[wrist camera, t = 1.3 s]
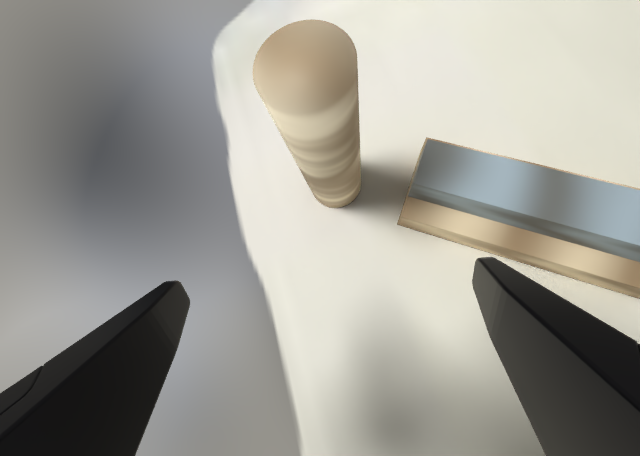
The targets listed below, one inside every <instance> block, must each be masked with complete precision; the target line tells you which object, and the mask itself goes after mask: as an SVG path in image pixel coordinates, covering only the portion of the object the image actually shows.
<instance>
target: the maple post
mask: <svg viewBox="0 0 640 456" xmlns="http://www.w3.org/2000/svg"><path fill="white" fill-rule="evenodd" d="M253 80H254V85H255V87H256V89H257V91H258V93H259V95H260V97H261V99H262V101H263V103H264V104H265V106H266V108H267V110H268V112H269V114H270V115H271V117H272V119H273V121H274V123H275V125H276V126H277V128H278V130H279V132H280V134H281V136H282V138H283V139H284V141H285V143H286V145H287V147H288V149H289V150H290V152H291V154H292V156H293V158H294V160H295V161H296V163H297V165H298V167H299V169H300V171H301V173H302V174H303V176H304V178H305V180H306V182H307V184H308V185H309V187H310V189H311V191H312V193H313V195H314V196H315V198H316V199H317V200H318V201H319V202H320V203H321V204H323V205H325V206H327V207H331V208H339V207H343V206H346V205H348V204H350V203H351V202H352V201H353V200H354V199H355V198H356V197H357V196H358V194H359V192H360V188H361V164H360V132H359V101H358V69H357V53H356V49H355V46H354V43H353V42H352V40H351V38H350V37H349V36H348V34H347V33H346V32H345V31H343V30H342V29H341V28H339V27H338V26H336V25H334V24H332V23H329V22H326V21H321V20H303V21H298V22H294V23H291V24H288V25H286V26H284V27H282V28H280V29H279V30H277V31H276V32H274V33H273V34H272V35H271V36H270V37H269V38H268V39H267V40H266V41H265V42H264V43H263V44H262V46H261V47H260V49H259V51H258V53H257V55H256V57H255V60H254V65H253Z"/></svg>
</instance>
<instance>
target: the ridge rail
mask: <svg viewBox="0 0 640 456" xmlns="http://www.w3.org/2000/svg"><path fill="white" fill-rule="evenodd" d="M397 225H401V226H404V227H407V228H410V229H414V230H417V231H420V232H424V233H427V234H430V235H433V236H437V237H440V238H443V239H446V240H450V241H453V242H456V243H460V244H463V245H466V246H469V247H473V248H476V249H479V250H482V251H486V252H489V253H492V254H495V255H499V256H502V257H505V258H509V259H512V260H515V261H518V262H522V263H525V264H528V265H531V266H535V267H538V268H541V269H544V270H548V271H551V272H554V273H558V274H561V275H564V276H567V277H571V278H574V279H577V280H580V281H584V282H587V283H590V284H593V285H597V286H600V287H603V288H607V289H610V290H613V291H616V292H620V293H623V294H626V295H629V296H633V297H636V298H639V299H640V189H638V188H634V187H630V186H626V185H622V184H618V183H613V182H609V181H605V180H601V179H597V178H593V177H589V176H584V175H580V174H576V173H572V172H568V171H564V170H559V169H555V168H551V167H547V166H543V165H539V164H535V163H530V162H526V161H522V160H518V159H514V158H510V157H506V156H501V155H497V154H493V153H489V152H485V151H481V150H476V149H472V148H468V147H464V146H460V145H456V144H452V143H447V142H443V141H439V140H435V139H431V138H427V137H426V140H425V142H424V145H423V147H422V149H421V152H420V155H419V158H418V161H417V164H416V167H415V170H414V173H413V176H412V180H411V183H410V186H409V189H408V192H407V195H406V198H405V201H404V205H403V208H402V211H401V214H400V217H399V220H398V223H397Z"/></svg>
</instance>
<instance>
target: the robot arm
mask: <svg viewBox="0 0 640 456" xmlns="http://www.w3.org/2000/svg"><path fill="white" fill-rule="evenodd" d="M472 284H473V289H474V292H475V295H476V298H477V300H478V303H479V306H480V309H481V312H482V315H483V318H484V321H485V324H486V327H487V330H488V333H489V335H490V338H491V340H492V342H493V345H494V347H495V349H496V351H497V353H498V355H499V357H500V360H501V362H502V364H503V366H504V368H505V370H506V372H507V374H508V376H509V379H510V381H511V383H512V385H513V387H514V389H515V391H516V393H517V395H518V398H519V400H520V402H521V404H522V406H523V408H524V410H525V412H526V414H527V417H528V419H529V421H530V423H531V425H532V427H533V429H534V431H535V433H536V435H537V438H538V440H539V442H540V444H541V446H542V448H543V450H544V452H545V454H546V456H640V344H638V343H637V342H636V341H635V340H633V339H632V338H630V337H628V336H627V335H625V334H623V333H621V332H620V331H618V330H616V329H615V328H613V327H611V326H610V325H608V324H606V323H604V322H603V321H601V320H599V319H598V318H596V317H594V316H593V315H591V314H589V313H587V312H586V311H584V310H582V309H581V308H579V307H577V306H576V305H574V304H572V303H570V302H569V301H567V300H565V299H564V298H562V297H560V296H559V295H557V294H555V293H553V292H552V291H550V290H548V289H547V288H545V287H543V286H542V285H540V284H538V283H536V282H535V281H533V280H531V279H530V278H528V277H526V276H525V275H523V274H521V273H519V272H518V271H516V270H514V269H513V268H511V267H509V266H507V265H506V264H504V263H502V262H501V261H499V260H497V259H496V258H493V257H485V258H478V259H477V260H476V262H475V267H474V273H473V279H472ZM189 306H190V299H189V297H188V295H187V293H186V291H185V289H184V288H183V286H182V284H181V282H179V281H166V282H164V283H162V284H161V285H159V286H158V287H157V288H155V289H154V290H152V291H151V292H149V293H148V294H146V295H145V296H143V297H142V298H140V299H139V300H137V301H136V302H134V303H133V304H132V305H130V306H129V307H127V308H126V309H124V310H123V311H122V312H120V313H118V314H117V315H115V316H114V317H112V318H111V319H110V320H108V321H107V322H105V323H104V324H103V325H101V326H99V327H98V328H96V329H95V330H93V331H92V332H90V333H89V334H88V335H86V336H85V337H83V338H82V339H81V340H79V341H77V342H76V343H74V344H73V345H71V346H70V347H68V348H67V349H66V350H64V351H63V352H61V353H60V354H58V355H57V356H55V357H54V358H52V359H51V360H49V361H48V362H46V363H45V364H44V366H40V367H39V368H37V369H36V370H34V371H33V372H32V373H30V374H29V375H27V376H26V377H24V378H23V379H21V380H20V381H18V382H17V383H16V384H14V385H12V386H11V387H9V388H8V389H6V390H5V391H3V392H2V393H0V456H135V455H136V452H137V450H138V447H139V445H140V442H141V439H142V437H143V434H144V432H145V429H146V427H147V424H148V422H149V419H150V416H151V414H152V412H153V409H154V407H155V404H156V402H157V399H158V397H159V394H160V391H161V389H162V387H163V384H164V382H165V379H166V377H167V374H168V372H169V369H170V367H171V364H172V361H173V359H174V356H175V354H176V351H177V348H178V345H179V342H180V338H181V335H182V331H183V327H184V324H185V320H186V317H187V313H188V310H189Z"/></svg>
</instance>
